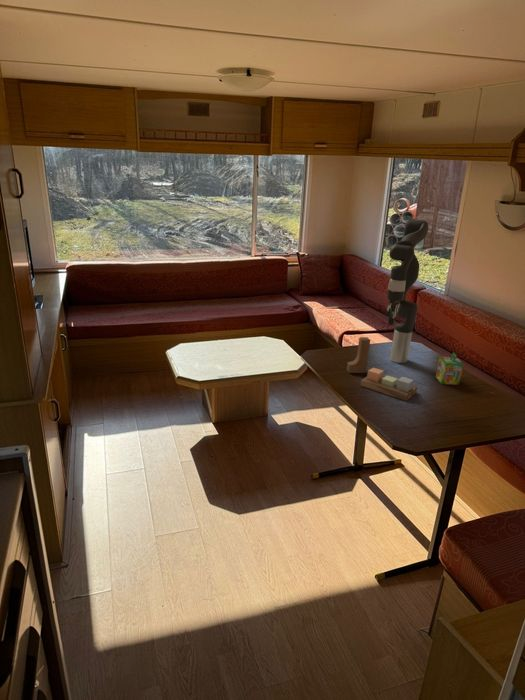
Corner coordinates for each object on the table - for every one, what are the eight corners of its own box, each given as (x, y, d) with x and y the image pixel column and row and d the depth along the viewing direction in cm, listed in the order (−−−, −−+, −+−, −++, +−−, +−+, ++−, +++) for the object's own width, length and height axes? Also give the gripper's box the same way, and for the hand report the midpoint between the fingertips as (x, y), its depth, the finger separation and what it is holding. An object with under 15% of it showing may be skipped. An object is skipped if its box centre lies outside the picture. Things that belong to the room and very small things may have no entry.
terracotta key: (371, 376, 243) (373, 367, 241) (382, 380, 240) (383, 370, 238) (366, 380, 239) (368, 370, 237) (377, 383, 236) (378, 373, 234)
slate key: (400, 386, 234) (402, 376, 233) (411, 389, 231) (413, 379, 230) (395, 389, 230) (397, 379, 229) (407, 393, 227) (408, 383, 225)
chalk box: (434, 377, 253) (440, 350, 248) (452, 377, 254) (458, 350, 248) (441, 384, 245) (447, 356, 239) (459, 385, 245) (465, 357, 240)
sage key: (385, 384, 239) (387, 375, 238) (396, 388, 236) (397, 378, 234) (380, 388, 235) (382, 378, 233) (391, 391, 232) (392, 382, 230)
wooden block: (348, 373, 251) (353, 339, 245) (346, 369, 255) (350, 336, 249) (365, 373, 252) (370, 340, 246) (363, 369, 257) (367, 337, 250)
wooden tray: (372, 378, 247) (372, 372, 246) (416, 392, 234) (417, 386, 233) (360, 385, 238) (361, 379, 237) (406, 400, 225) (407, 394, 224)
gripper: (394, 285, 236) (389, 320, 242) (382, 289, 226) (377, 325, 232) (409, 288, 231) (404, 323, 237) (398, 292, 221) (392, 329, 228)
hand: (390, 324), depth 235 cm, fingers closed
